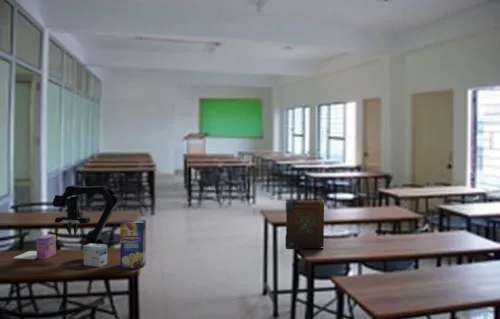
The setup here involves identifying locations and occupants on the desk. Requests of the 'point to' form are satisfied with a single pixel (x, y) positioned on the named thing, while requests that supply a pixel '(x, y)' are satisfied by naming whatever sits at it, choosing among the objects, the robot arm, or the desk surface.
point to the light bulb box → (95, 254)
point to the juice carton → (133, 243)
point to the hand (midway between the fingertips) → (72, 234)
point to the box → (46, 246)
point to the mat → (27, 255)
